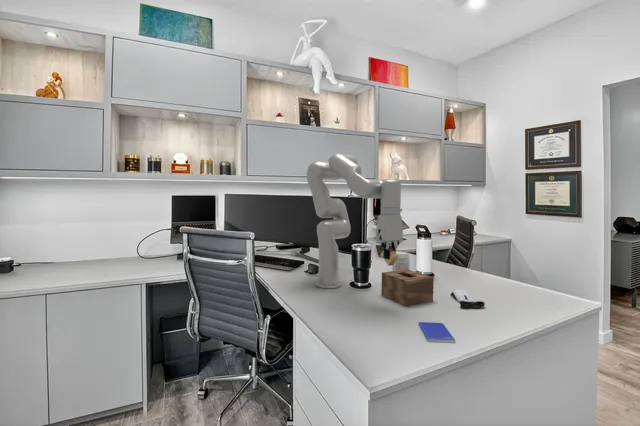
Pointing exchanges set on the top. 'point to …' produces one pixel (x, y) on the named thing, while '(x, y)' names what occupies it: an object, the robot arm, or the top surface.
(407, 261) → the supplement can
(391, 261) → the wooden block
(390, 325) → the top surface
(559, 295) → the top surface
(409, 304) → the wooden tissue box
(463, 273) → the top surface
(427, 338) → the hard drive
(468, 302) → the computer mouse
